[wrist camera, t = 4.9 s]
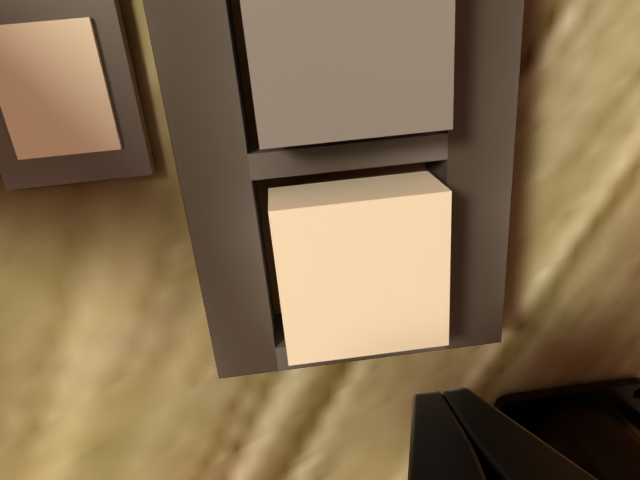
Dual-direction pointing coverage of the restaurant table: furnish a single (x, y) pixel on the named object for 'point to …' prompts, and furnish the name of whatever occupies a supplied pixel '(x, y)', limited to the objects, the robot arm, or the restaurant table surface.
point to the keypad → (330, 172)
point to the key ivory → (362, 265)
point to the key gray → (349, 68)
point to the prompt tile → (68, 95)
